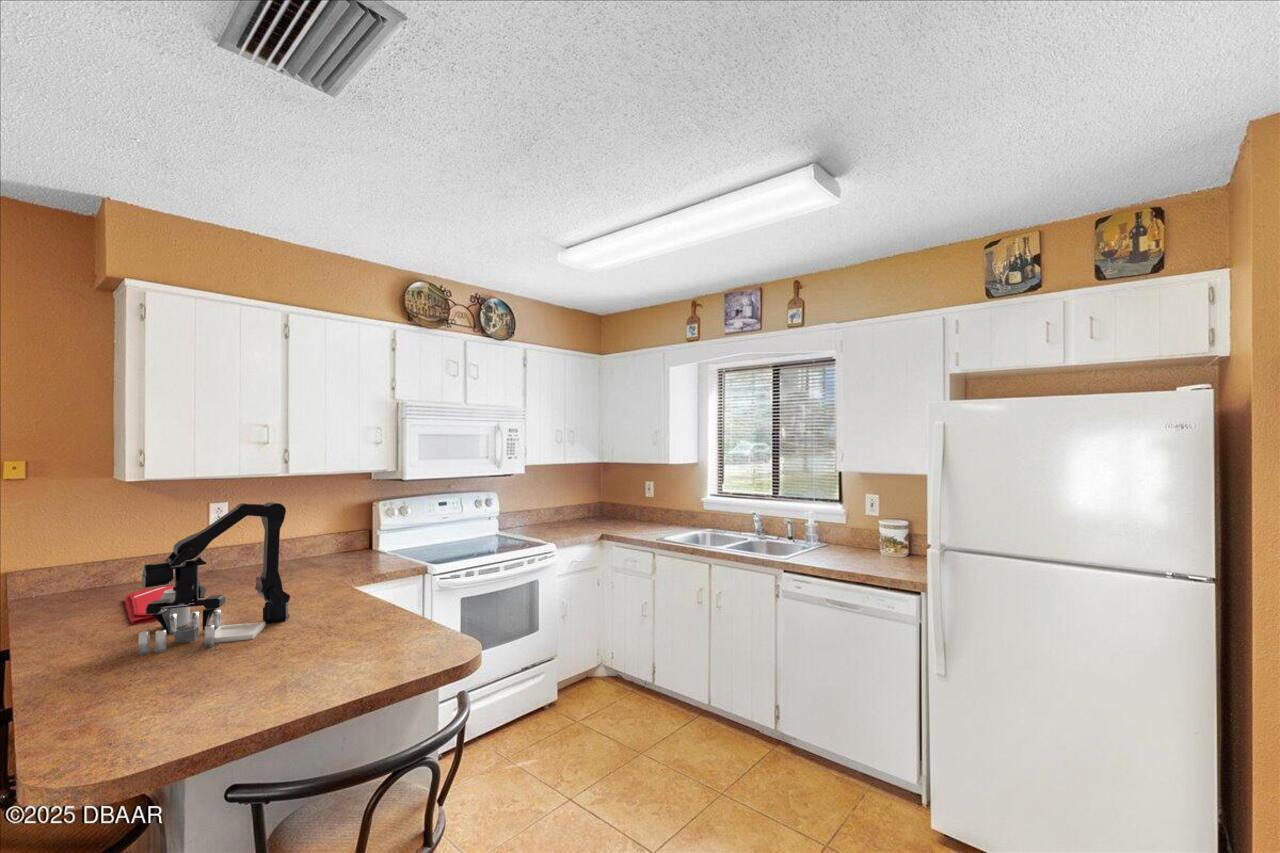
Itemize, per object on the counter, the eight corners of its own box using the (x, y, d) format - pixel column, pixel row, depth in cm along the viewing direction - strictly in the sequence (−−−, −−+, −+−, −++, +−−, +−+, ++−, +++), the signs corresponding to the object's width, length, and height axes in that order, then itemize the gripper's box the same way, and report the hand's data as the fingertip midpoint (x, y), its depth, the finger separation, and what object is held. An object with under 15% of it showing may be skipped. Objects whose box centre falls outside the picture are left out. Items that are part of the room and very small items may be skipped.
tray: (265, 626, 189) (265, 621, 189) (252, 639, 177) (252, 634, 177) (220, 630, 185) (220, 626, 185) (204, 644, 173) (204, 639, 173)
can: (173, 630, 186) (173, 593, 186) (154, 629, 187) (154, 592, 187) (195, 623, 193) (195, 587, 193) (177, 622, 195) (177, 586, 195)
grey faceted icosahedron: (200, 636, 181) (200, 624, 181) (192, 642, 175) (192, 630, 175) (181, 638, 179) (180, 626, 179) (172, 644, 174) (172, 632, 174)
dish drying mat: (130, 627, 191) (130, 615, 191) (123, 602, 221) (123, 592, 221) (190, 616, 202) (190, 605, 202) (176, 593, 232) (176, 584, 232)
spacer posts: (236, 626, 190) (236, 607, 190) (212, 647, 171) (212, 626, 171) (169, 632, 184) (168, 613, 184) (136, 655, 165) (136, 634, 165)
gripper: (231, 572, 188) (231, 620, 188) (162, 577, 182) (162, 627, 182) (218, 580, 178) (218, 631, 177) (144, 586, 172) (144, 639, 172)
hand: (186, 632), depth 177 cm, fingers open, 9 cm apart
